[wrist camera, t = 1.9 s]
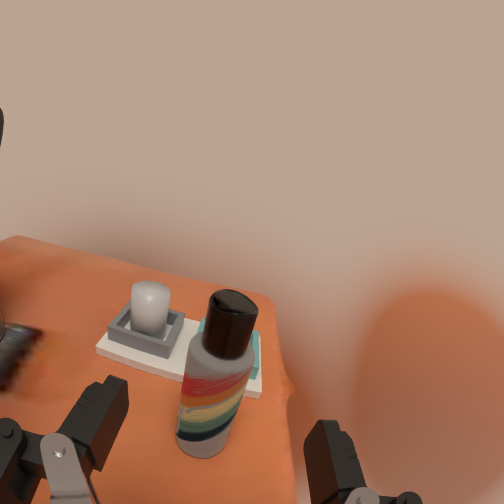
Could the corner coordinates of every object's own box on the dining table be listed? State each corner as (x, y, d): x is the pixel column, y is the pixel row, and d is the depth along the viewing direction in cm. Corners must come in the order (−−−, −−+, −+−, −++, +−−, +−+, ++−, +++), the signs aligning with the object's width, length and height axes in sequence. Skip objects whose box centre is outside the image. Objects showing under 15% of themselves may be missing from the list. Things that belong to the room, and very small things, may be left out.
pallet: (96, 353, 33) (93, 299, 31) (131, 309, 48) (135, 263, 45) (259, 399, 35) (278, 350, 32) (258, 342, 49) (272, 298, 47)
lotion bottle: (171, 423, 27) (192, 277, 21) (216, 421, 29) (256, 283, 24) (180, 461, 22) (207, 316, 16) (229, 456, 24) (285, 318, 19)
